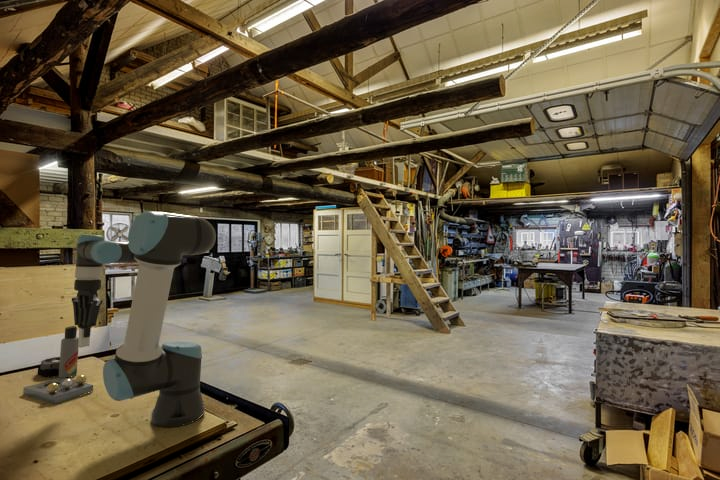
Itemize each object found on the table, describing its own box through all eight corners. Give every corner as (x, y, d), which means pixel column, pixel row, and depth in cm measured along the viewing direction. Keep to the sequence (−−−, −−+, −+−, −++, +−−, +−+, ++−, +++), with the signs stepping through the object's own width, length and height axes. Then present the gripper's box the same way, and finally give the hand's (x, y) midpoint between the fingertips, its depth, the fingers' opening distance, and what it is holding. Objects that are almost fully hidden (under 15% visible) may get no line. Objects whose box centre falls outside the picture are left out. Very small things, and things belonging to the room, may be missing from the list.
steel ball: (74, 387, 128) (75, 378, 128) (64, 390, 125) (65, 381, 125) (69, 386, 129) (69, 377, 129) (59, 389, 126) (59, 379, 126)
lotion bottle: (79, 375, 146) (82, 326, 147) (61, 379, 141) (65, 328, 142) (73, 372, 149) (76, 324, 150) (56, 376, 144) (59, 326, 145)
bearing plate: (92, 391, 131) (93, 384, 131) (54, 404, 120) (55, 396, 120) (61, 383, 137) (62, 377, 137) (23, 394, 126) (23, 387, 126)
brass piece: (88, 383, 132) (88, 374, 132) (78, 386, 129) (79, 377, 129) (82, 382, 133) (83, 373, 133) (73, 384, 130) (73, 375, 130)
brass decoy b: (60, 391, 124) (61, 382, 124) (49, 395, 121) (50, 385, 121) (54, 390, 125) (55, 380, 125) (43, 393, 122) (44, 383, 122)
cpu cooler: (65, 354, 156) (77, 358, 151) (64, 368, 155) (76, 372, 151) (35, 360, 146) (46, 364, 142) (34, 374, 146) (45, 379, 141)
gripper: (111, 279, 127) (107, 346, 126) (87, 277, 132) (83, 341, 131) (89, 280, 120) (84, 351, 119) (64, 278, 125) (59, 346, 124)
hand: (83, 346), depth 125 cm, fingers closed
